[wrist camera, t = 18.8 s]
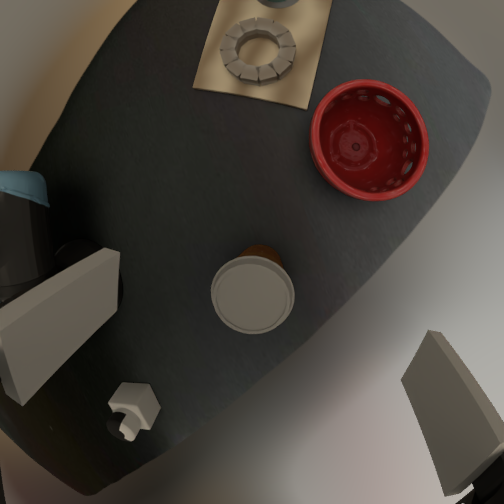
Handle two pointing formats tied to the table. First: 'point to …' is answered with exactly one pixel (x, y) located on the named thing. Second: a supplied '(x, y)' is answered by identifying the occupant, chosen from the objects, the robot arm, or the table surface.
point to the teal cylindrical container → (276, 0)
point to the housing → (264, 50)
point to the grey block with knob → (132, 410)
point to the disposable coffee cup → (253, 291)
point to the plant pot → (368, 140)
